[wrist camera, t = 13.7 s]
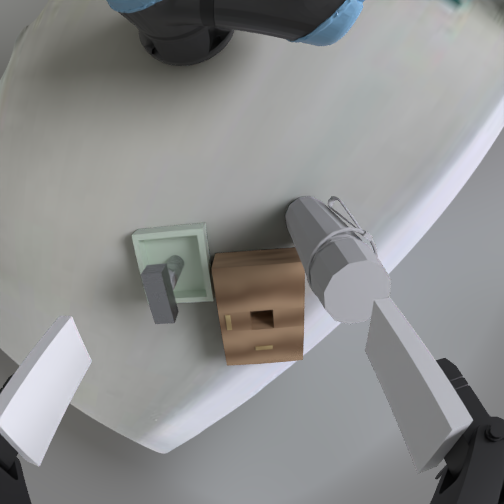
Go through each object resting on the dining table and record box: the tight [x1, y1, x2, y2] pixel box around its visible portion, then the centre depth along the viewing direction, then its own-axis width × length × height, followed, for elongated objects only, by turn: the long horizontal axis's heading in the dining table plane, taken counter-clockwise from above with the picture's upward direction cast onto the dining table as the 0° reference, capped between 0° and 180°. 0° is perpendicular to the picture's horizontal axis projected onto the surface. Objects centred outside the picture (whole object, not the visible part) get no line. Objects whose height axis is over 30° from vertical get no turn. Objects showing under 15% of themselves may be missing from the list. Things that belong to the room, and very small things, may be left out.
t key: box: [141, 255, 184, 324], centre depth 44 cm, size 3×8×12 cm, turn 6°
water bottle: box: [285, 196, 391, 324], centre depth 36 cm, size 9×8×25 cm
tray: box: [132, 223, 215, 304], centre depth 49 cm, size 13×12×3 cm
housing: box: [211, 247, 305, 365], centre depth 51 cm, size 20×14×6 cm
